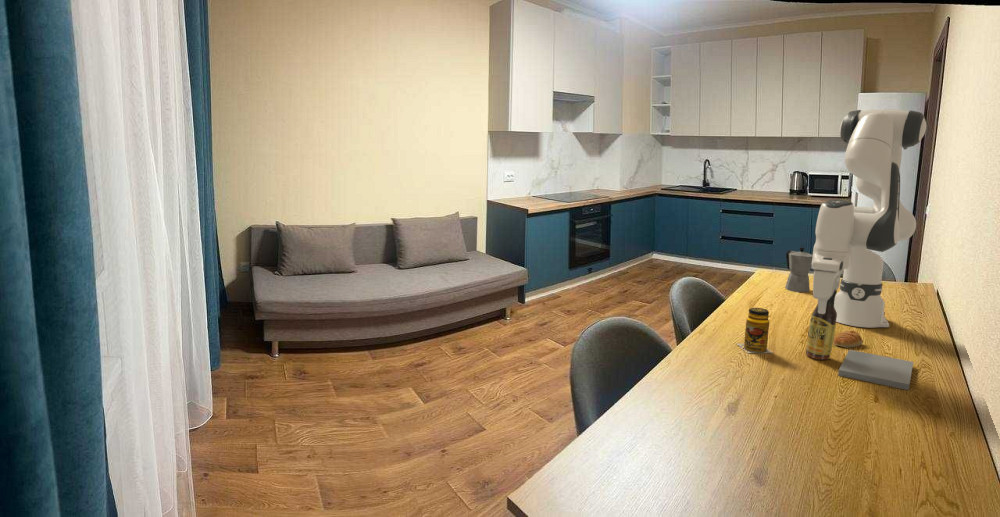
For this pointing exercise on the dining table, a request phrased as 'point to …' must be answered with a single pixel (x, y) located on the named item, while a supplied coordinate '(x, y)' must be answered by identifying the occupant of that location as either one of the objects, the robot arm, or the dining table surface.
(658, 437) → the dining table surface
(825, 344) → the sauce bottle
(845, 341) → the pastry
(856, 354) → the serving board
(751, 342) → the condiment
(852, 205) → the robot arm
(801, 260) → the coffeepot
